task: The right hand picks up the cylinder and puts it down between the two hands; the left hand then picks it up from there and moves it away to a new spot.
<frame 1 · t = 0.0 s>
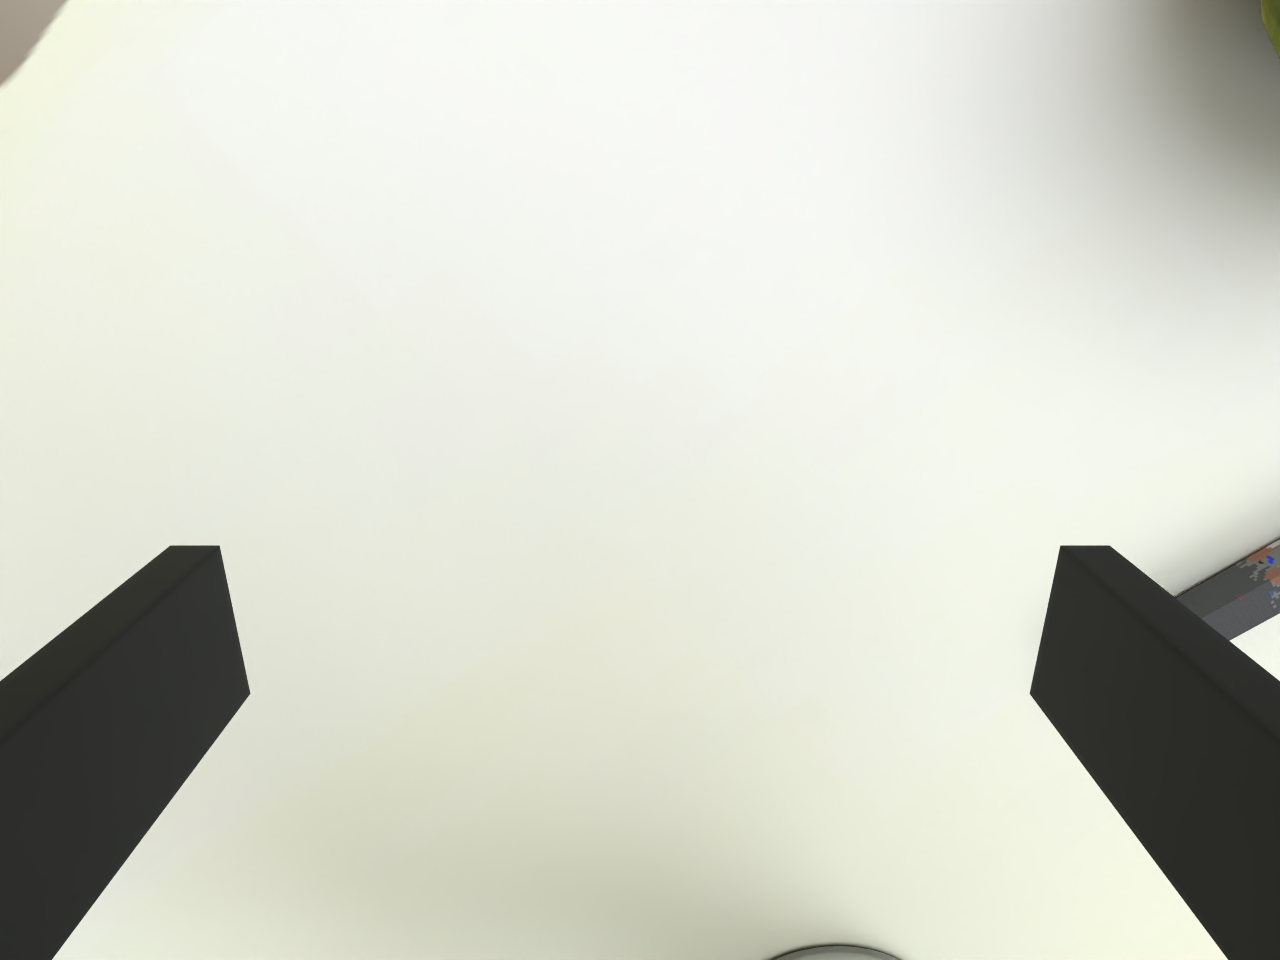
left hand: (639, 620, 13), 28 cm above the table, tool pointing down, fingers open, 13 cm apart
pillar: (1236, 579, 44), on the table
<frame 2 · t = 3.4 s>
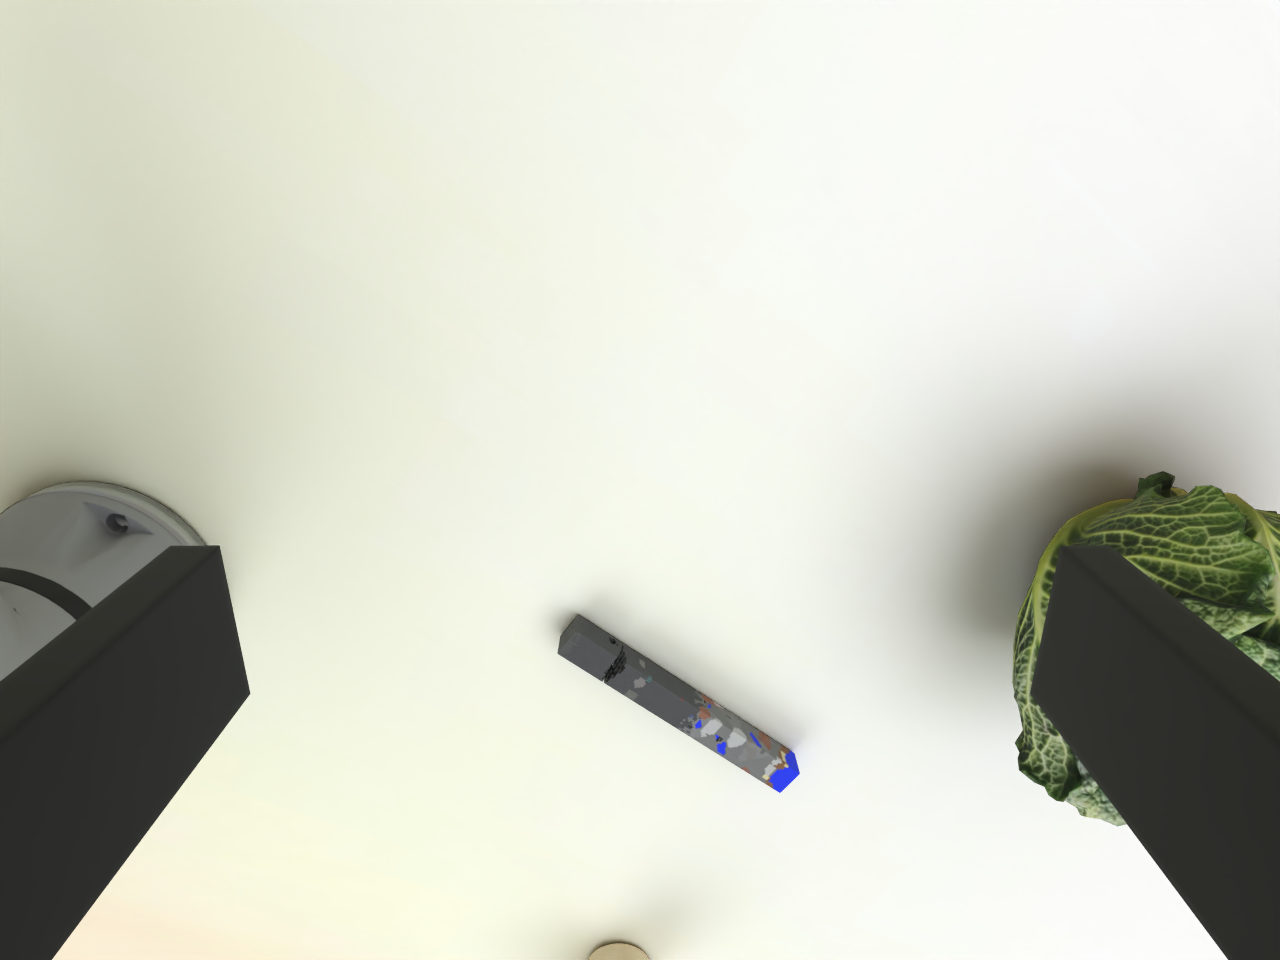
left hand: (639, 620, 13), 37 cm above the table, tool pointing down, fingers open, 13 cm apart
pillar: (682, 696, 58), on the table
vegetable: (1108, 574, 55), on the table
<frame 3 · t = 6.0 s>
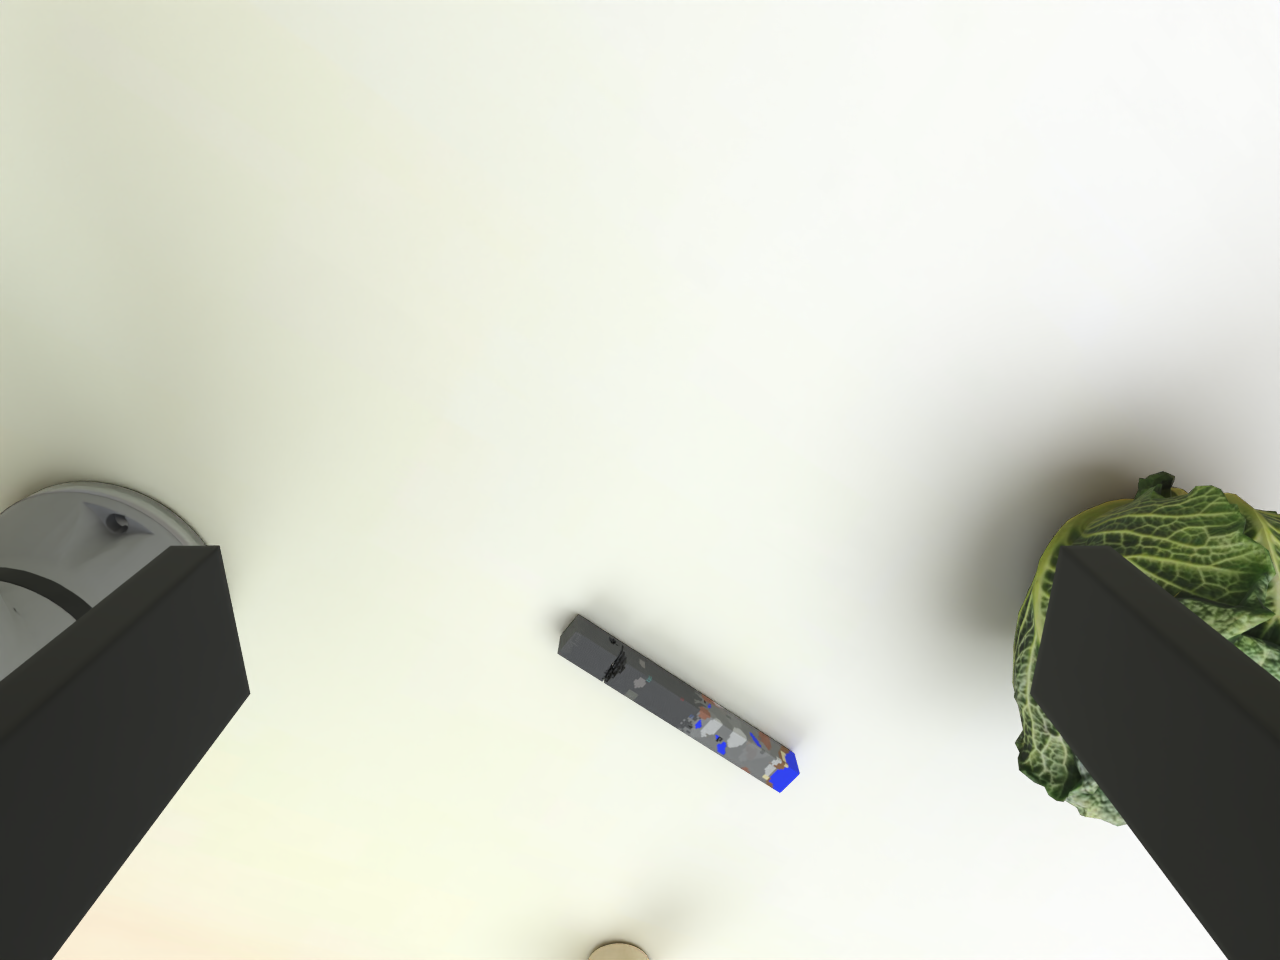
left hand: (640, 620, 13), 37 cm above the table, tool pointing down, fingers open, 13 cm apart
pillar: (682, 696, 58), on the table
vegetable: (1108, 574, 55), on the table
when the right hand's fingers open (2 cm above the table, at t = 9.0 s): cylinder stays where it is, on the table.
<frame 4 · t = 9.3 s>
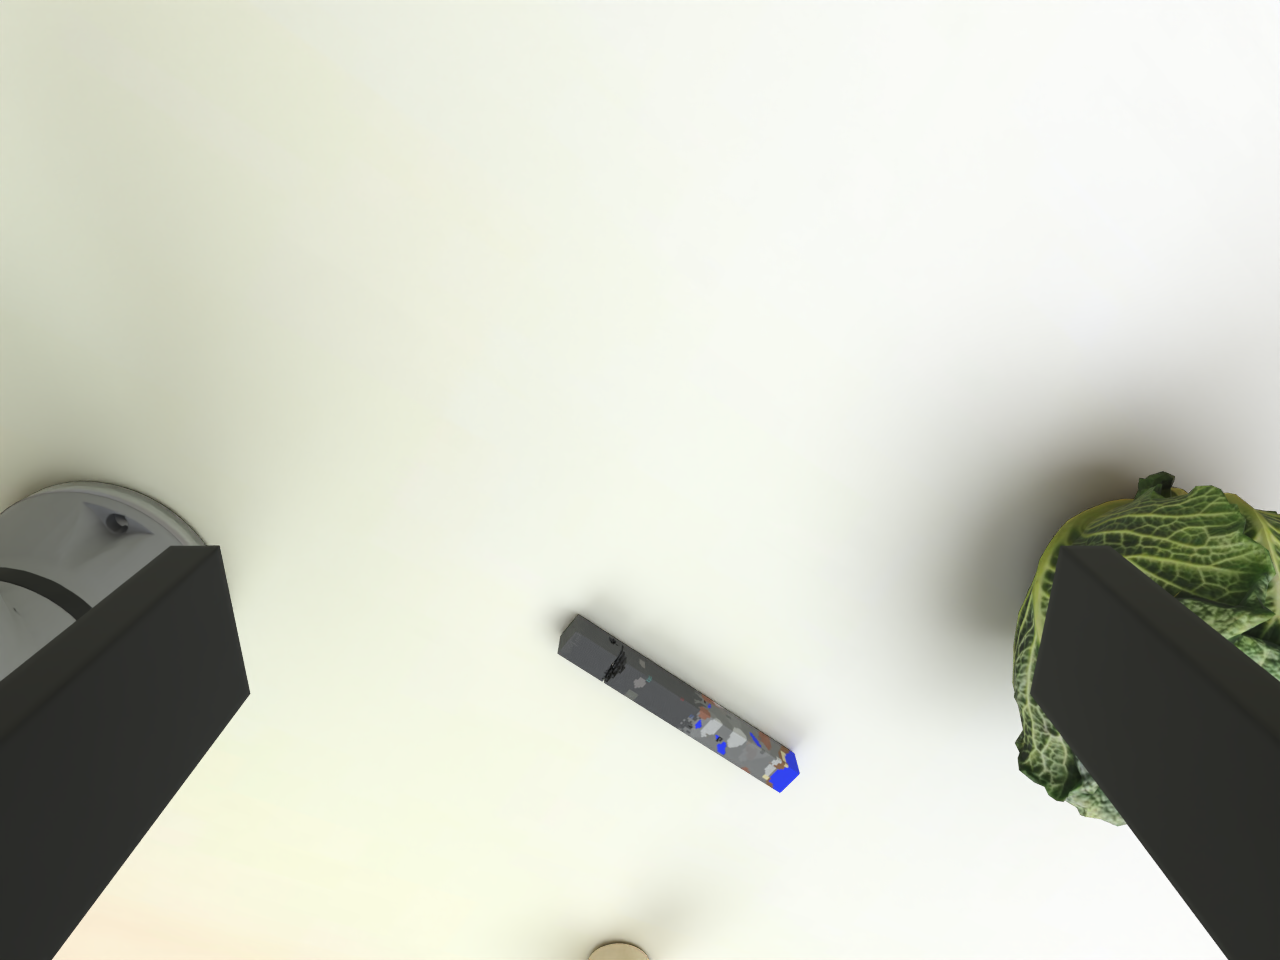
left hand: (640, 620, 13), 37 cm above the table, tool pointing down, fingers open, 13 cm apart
pillar: (682, 696, 58), on the table
vegetable: (1108, 574, 55), on the table
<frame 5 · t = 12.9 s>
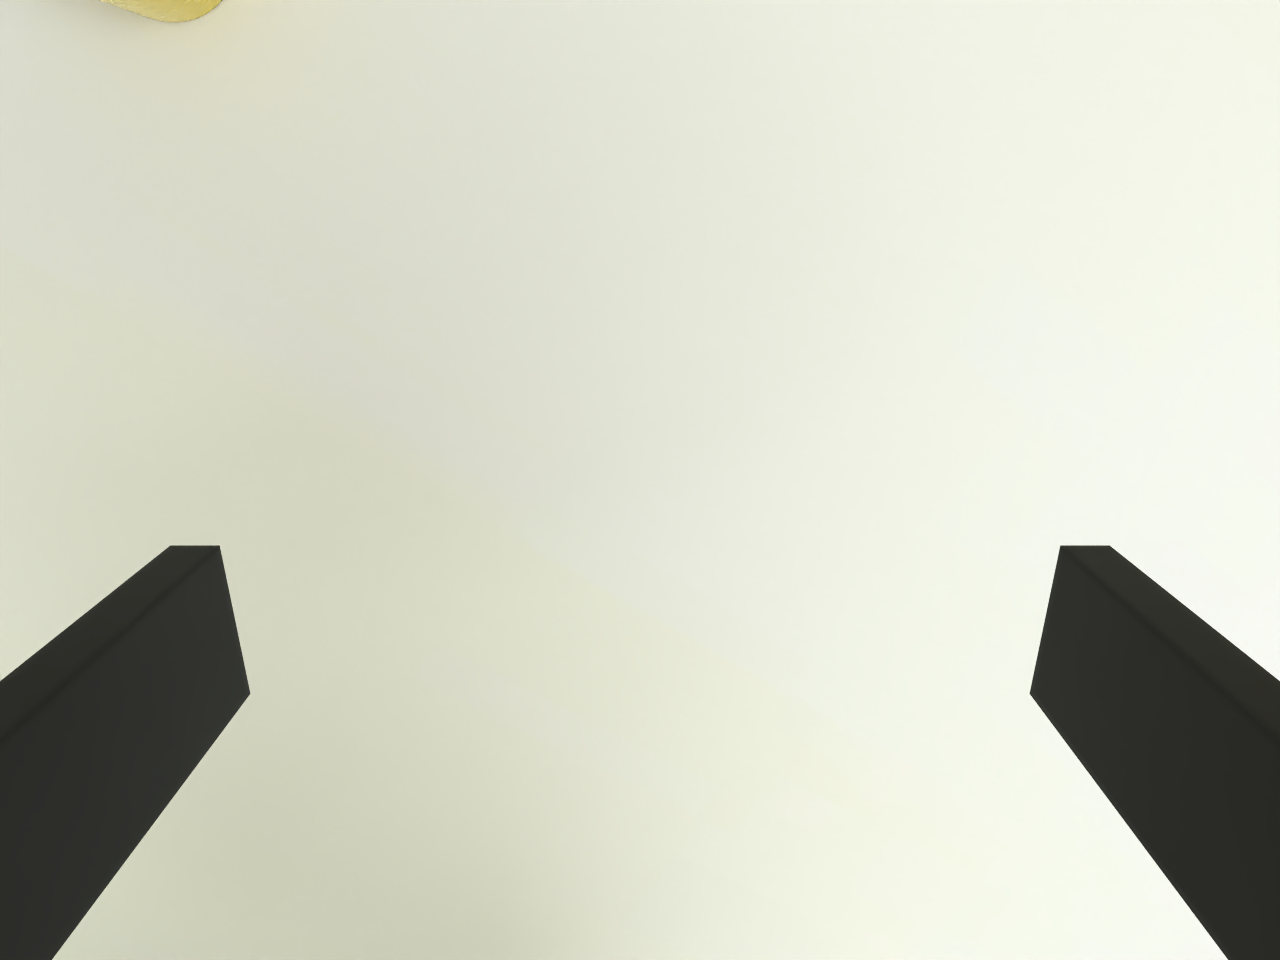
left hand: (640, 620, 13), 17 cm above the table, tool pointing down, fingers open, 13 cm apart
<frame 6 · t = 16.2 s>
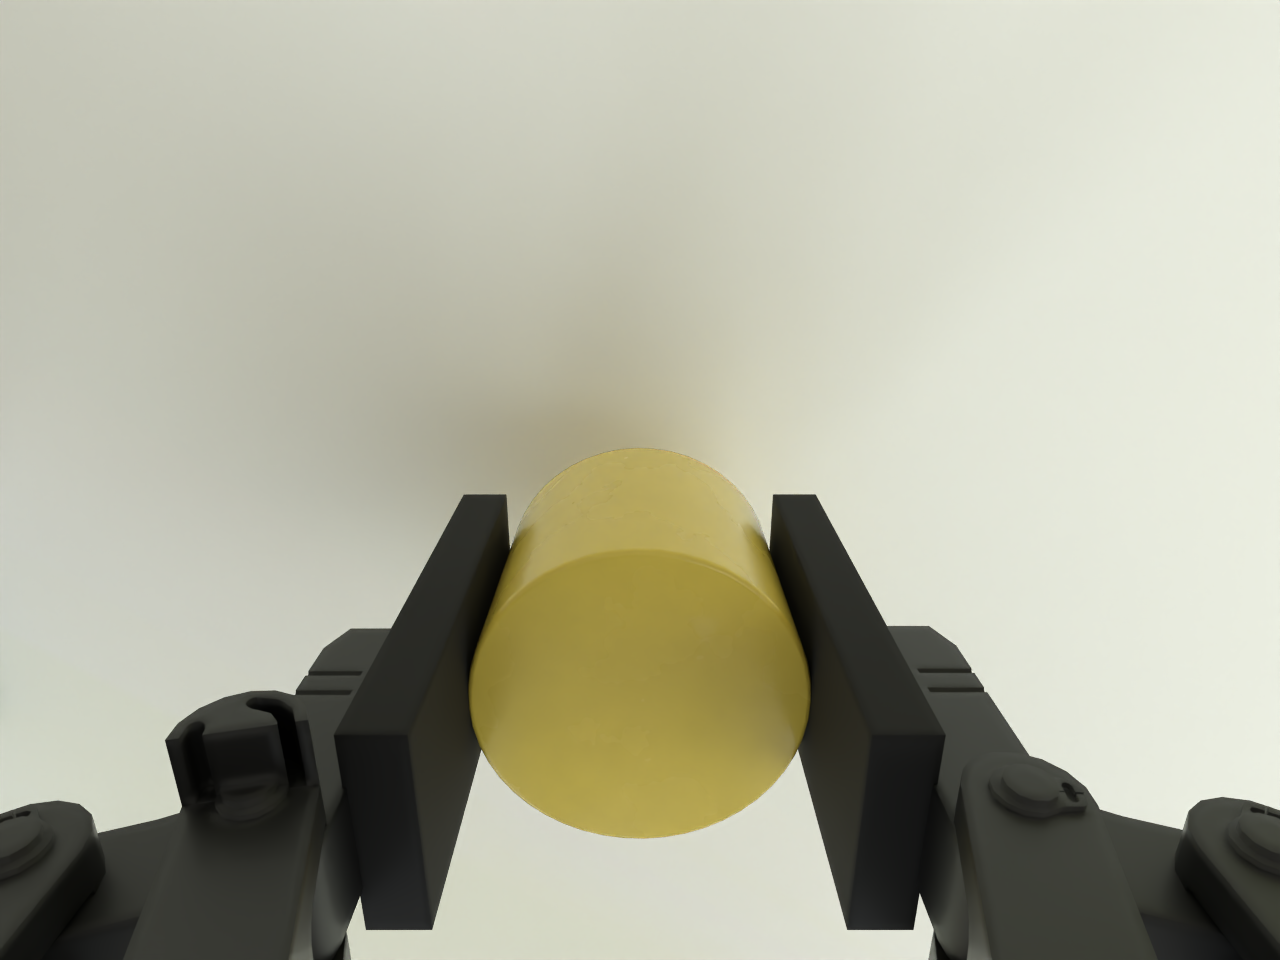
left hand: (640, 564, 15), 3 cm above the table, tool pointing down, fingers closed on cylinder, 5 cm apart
cylinder: (639, 567, 15), point 3 cm above the table, touching left hand
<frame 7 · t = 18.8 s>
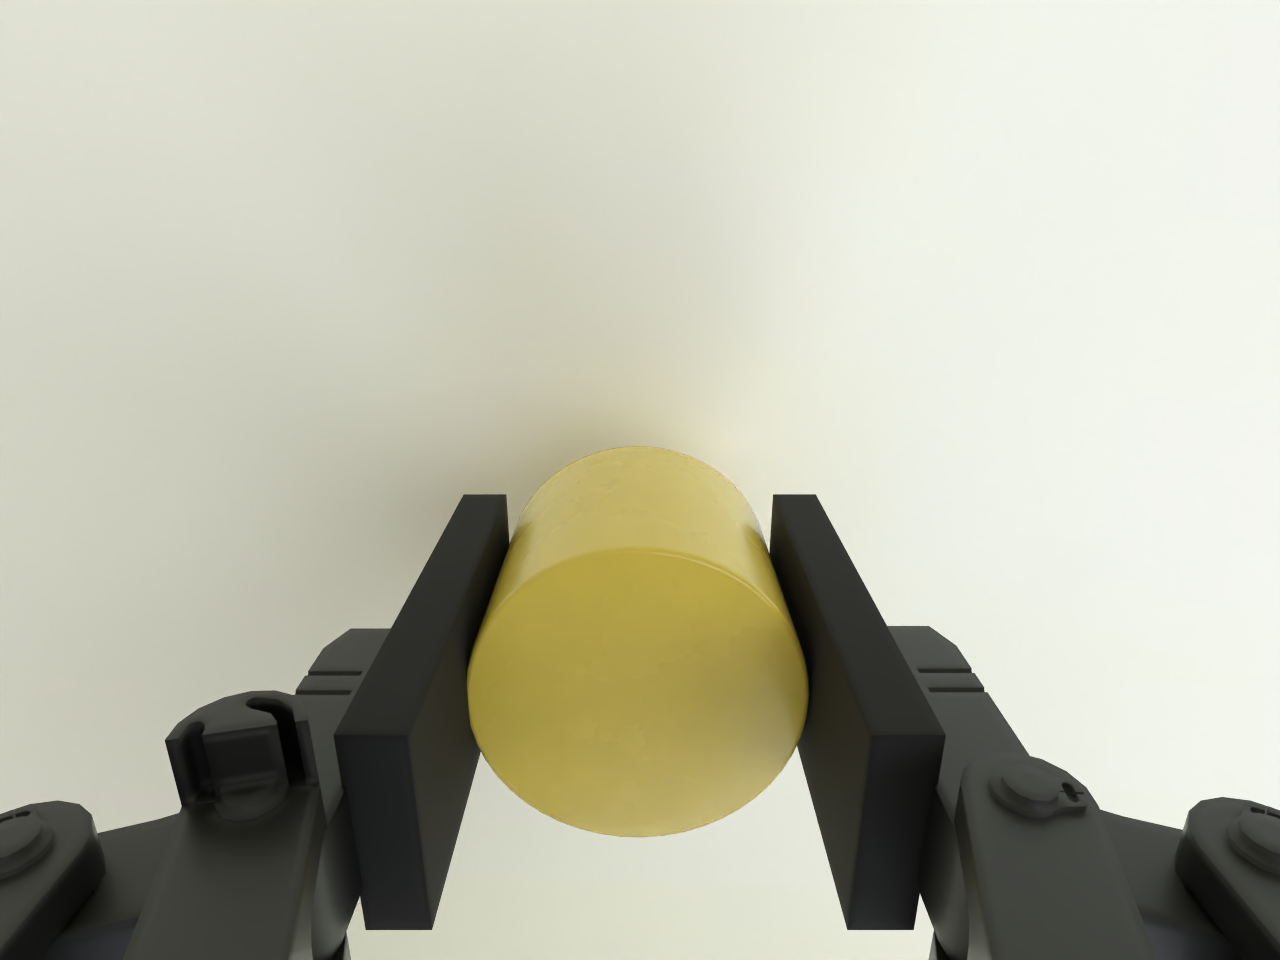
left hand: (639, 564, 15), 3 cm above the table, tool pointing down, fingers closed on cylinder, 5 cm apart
cylinder: (638, 565, 15), point 3 cm above the table, touching left hand
when the left hand's fingers open (0 cm above the table, at t = 21.8 s): cylinder stays where it is, on the table.
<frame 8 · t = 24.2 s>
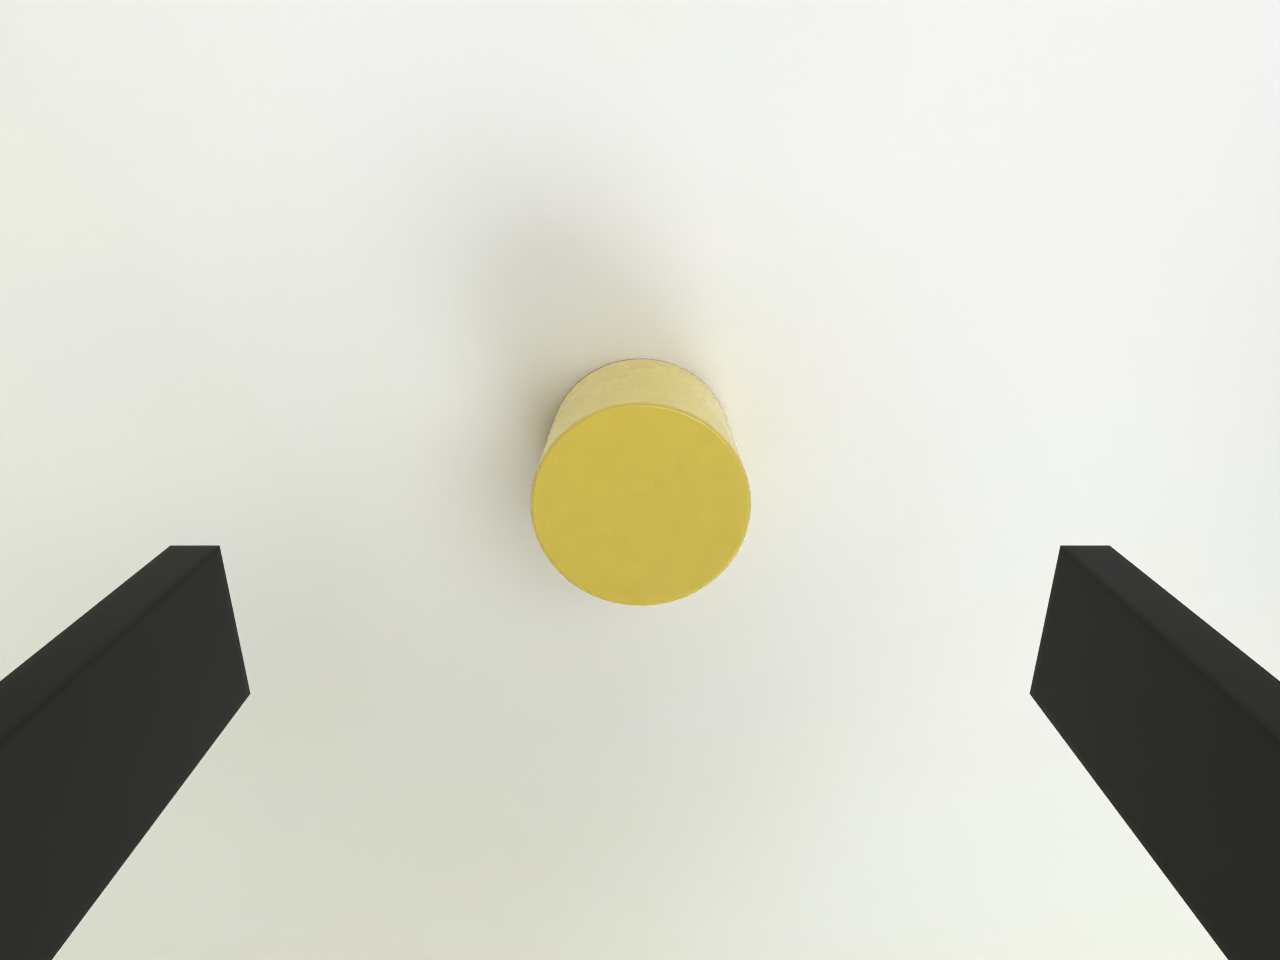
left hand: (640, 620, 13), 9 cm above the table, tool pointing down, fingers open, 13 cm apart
cylinder: (640, 446, 21), on the table
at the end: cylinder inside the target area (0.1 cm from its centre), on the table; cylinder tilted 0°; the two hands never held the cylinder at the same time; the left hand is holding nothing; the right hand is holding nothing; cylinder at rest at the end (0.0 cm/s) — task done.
